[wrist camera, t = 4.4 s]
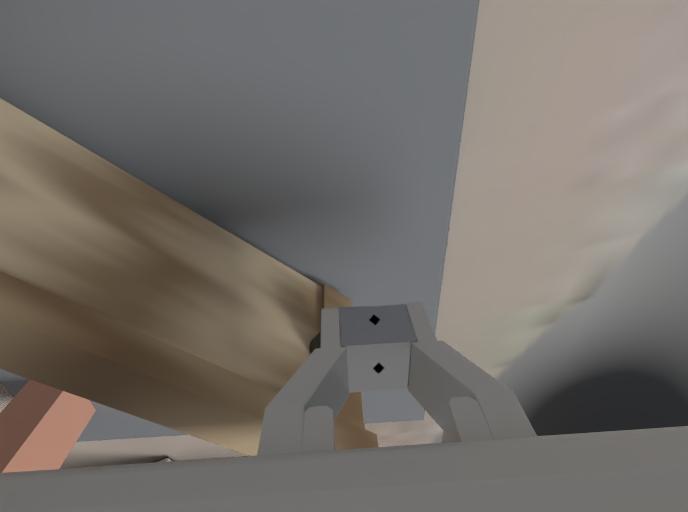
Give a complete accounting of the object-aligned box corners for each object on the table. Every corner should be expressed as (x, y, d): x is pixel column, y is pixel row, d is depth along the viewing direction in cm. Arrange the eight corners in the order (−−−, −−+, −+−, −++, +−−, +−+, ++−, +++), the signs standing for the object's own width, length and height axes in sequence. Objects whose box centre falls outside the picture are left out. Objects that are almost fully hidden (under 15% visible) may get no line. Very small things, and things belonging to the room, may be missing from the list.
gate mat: (-377, -129, 10) (-430, -141, 9) (490, -158, 10) (502, -172, 9) (59, 431, 23) (51, 443, 23) (420, 408, 24) (423, 419, 23)
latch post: (40, 367, 20) (-154, 587, 12) (82, 365, 20) (-82, 582, 12) (63, 401, 22) (-93, 615, 14) (103, 398, 22) (-30, 611, 14)
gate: (-84, 91, 11) (-613, 156, 5) (-74, 21, 10) (-706, -12, 4) (339, 325, 17) (347, 489, 11) (370, 293, 16) (399, 454, 10)
